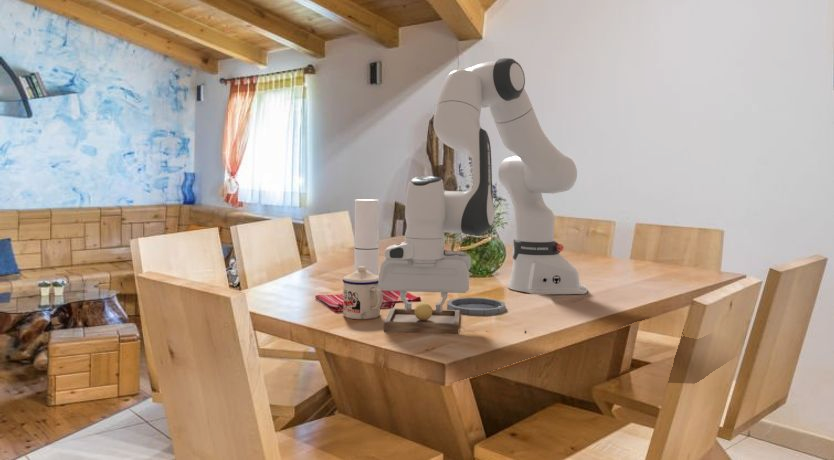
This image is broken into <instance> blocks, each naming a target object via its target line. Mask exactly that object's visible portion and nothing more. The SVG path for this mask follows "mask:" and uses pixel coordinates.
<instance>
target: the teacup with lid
mask: <svg viewBox="0 0 834 460" xmlns="http://www.w3.org/2000/svg"><path fill="white" fill-rule="evenodd" d="M378 282H379V275H378V276H377V275H374V274H373V273H371V272H369V271H366V267H365V266H359V267H358V271H354V270H353V272H352V273H350V274H346V275H344V277H343V278H342V283H343V287H342V288H343V291H342V292H343V293H342V294H343V312H342V314H343V316H344V317H345V318H347V319H352V320H371V319H375V318H378V317H380V315H381V309H380V307H381V305H382V302H383V295H382V292H381V291H380V290H381V289H380V288H379V286H378Z"/></svg>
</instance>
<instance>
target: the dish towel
mask: <svg viewBox="0 0 834 460" xmlns="http://www.w3.org/2000/svg"><path fill="white" fill-rule="evenodd" d="M380 291H381V292H382V295H383V302H382V305H381V307H380V310H381V309H391V308H393V307H394V308H395V306H396V304H397V303H399V304H401V303H404V302H403V301H402V299H401V300H399V298H400V291H382V290H381V289H380ZM405 297H406V299H407V300H408V302H412V303H415V302H417V303H418V302H420V301H422V298H421V296H416V295H414V294H411V292H410V293H409V291H407V295H406V296H405ZM315 301H317V302H318V303H319V304H321V305H322V306H323V307H326V308H327V309H329V310H330V311H332V312H333V313H343V293H341V294H338V293H337V294H317V295H315Z"/></svg>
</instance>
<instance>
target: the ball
mask: <svg viewBox="0 0 834 460" xmlns="http://www.w3.org/2000/svg"><path fill="white" fill-rule="evenodd" d="M414 309H415V311H414V313H415V316H416V317H417V318H418V319H419V320H422V321H425V320H428V319H429V318H430V317H431V315H432V309H433V308H432V307H431V305H430V304H429V303H427V302H420V303H418V304H416V306H415V308H414Z"/></svg>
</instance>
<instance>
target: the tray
mask: <svg viewBox="0 0 834 460" xmlns="http://www.w3.org/2000/svg"><path fill="white" fill-rule="evenodd" d="M414 311H415V308H412V310H411V311H405V307H403V308H402V307H400V308H399V307H394V308H390V311H389V312H388V314H387V316H386V318H385V319H384V322H383V331H384V332H387V333H389V332H390V333H414V334H415V333H417V334H420V333H421V334H423V333H424V334H448V335H451V334H452V335H459V334H460V313H459V310H448V309H442V312H436V308H432V315H431V317H430V318H429V319H428V320H425V321H422V320H419V319H418V318H417V317H416V316H415V313H414Z"/></svg>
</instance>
